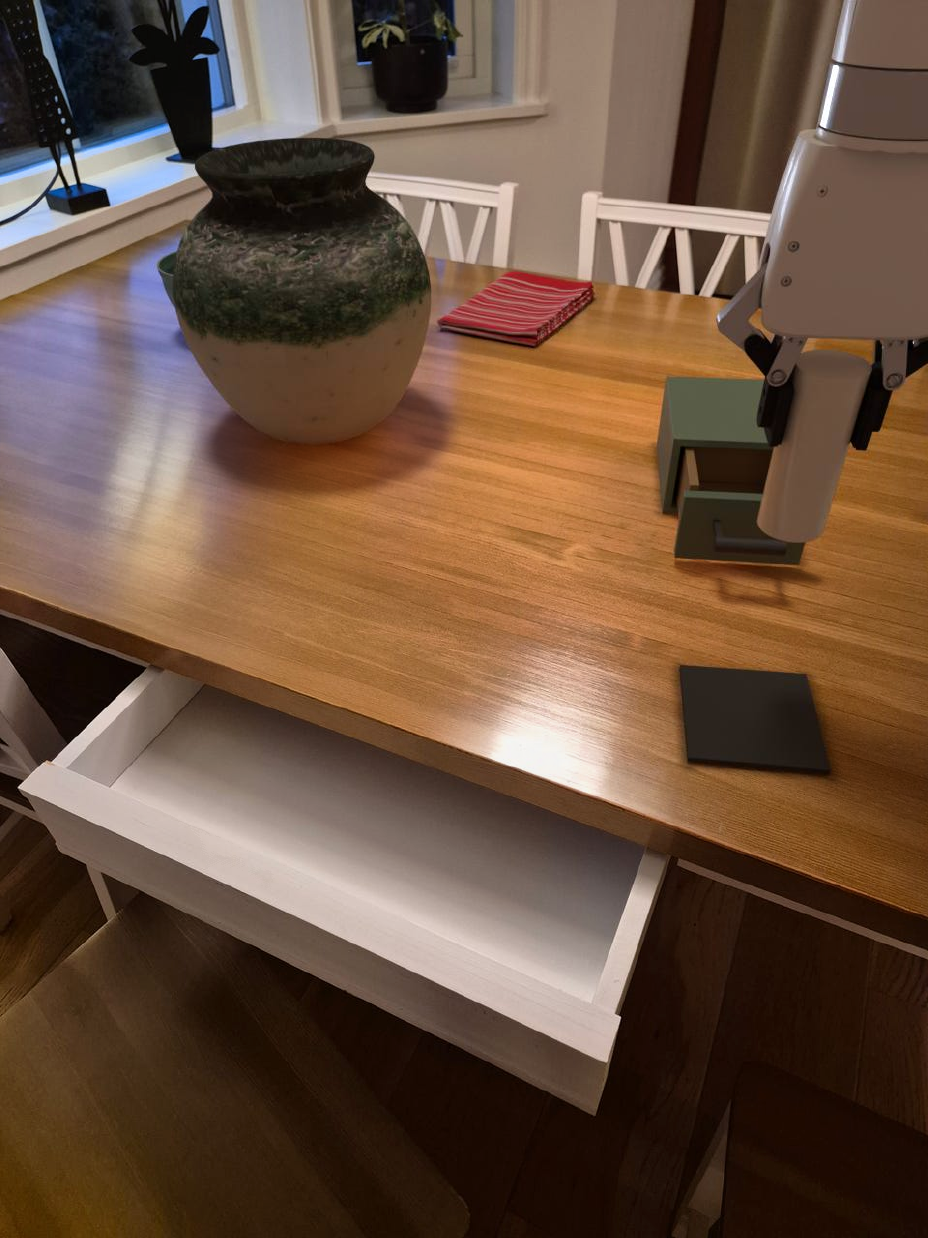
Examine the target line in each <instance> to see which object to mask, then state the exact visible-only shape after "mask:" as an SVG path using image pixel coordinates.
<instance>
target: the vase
mask: <svg viewBox="0 0 928 1238" xmlns="http://www.w3.org/2000/svg"><path fill="white" fill-rule="evenodd" d="M375 158H376V155H375V152H374V150H373V148H371V147H370V146H368V145H366V144H364V143H361V142H357V141H353V140H347V139H341V138H328V137H287V138H285V137H284V138H274V139H273V138H272V139H264V140H255V141H248V142H247V141H246V142H242V143H237V144H231V145H227V146H224V147H220V148H217V149H213V150H210V151H208V152H206V153H204V154H203V155H200V156H199V157H198V158H196V160H195V162H194V170H195V172H196V174H197V175H198V177H199V178H200V179H201V180H202V181H203V183H204V184H205V185H207V188H209V190H210V192H211V198H210V200H209V201H208V202H207V203H206V204H205V205H204V206H203V207H202V208H201V209H200V210H199V211H198V212H197V213H196V214H195V216H194V217H193V218H192V219H191V220H190V222H189V223H188V225H187V226H186V228H185V229H184V232H183V234H182V236H181V238H180V240H179V242H178V246H177V249H176V251H177V253H176V257H175V262H174V270H173V299H174V305H175V307H174V310H175V315H176V318H177V322H178V325H179V328H180V331H181V333H182V336H183V338H184V340H185V342H186V344H187V346H188V348H189V350H190V352H191V354H192V355H193V357H194V359H195V361H196V362H197V364H198V366H199V368H200V369H201V371H202V372H203V373H204V375H205V376H206V378H207V380H208V381H209V382H210V384H211V385H212V386H213V388H214V389H215V390H216V391H217V392H218V394H219V395H220V396H221V398H223V400H224V401H225V402H226V403H227V405H228V406H229V407H230V408H231V409H232V410H233V411H234V412H235V413H236V414H237V415H238V416H239V417H240V418H242V419H243V420H244V421H245V422H246V423H248V424H249V425H251V426H252V428H254V429H256V430H258V431H259V432H261V433H263V434H265V435H267V436H269V437H271V438H274V439H277V440H280V441H283V442H287V443H292V444H296V445H297V444H298V445H304V446H305V445H306V446H321V445H331V444H336V443H342V442H345V441H349V440H351V439H353V438H356V437H359V436H362V435H363V434H365V433H367V432H368V431H371V430H372V429H373V428H375V427H377V426H378V425H379V424H380V423H382V422H383V421H384V420H385V419H386V418H387V417H388V416H389V415H390V414H391V413H392V412H393V410H395V408H396V407H397V405H398V404H399V403H400V401H401V400H402V398H403V396H404V395H405V393H406V391H407V389H408V387H409V385H410V383H411V381H412V378H413V376H414V374H415V373H416V372H415V371H416V369H417V367H418V364H419V361H420V358H421V356H422V353H423V350H424V346H425V343H426V339H427V334H428V330H429V327H430V326H429V325H430V320H431V314H432V313H431V312H432V282H431V275H430V270H429V267H428V263H427V259H426V256H425V253H424V250H423V248H422V245H421V243H420V241H419V238H418V237H417V235H416V233H415V232H414V229H413V228H412V226H411V225H410V224H409V222H408V221H407V219H406V218H405V217H404V216H403V214H402V213H401V212H400V211H399V210H398V209H397V207H395V206H394V205H392V203H390V202H389V201H388V200H387V199H385V198H383V197H382V196H381V195H380V194H378V193H376V192H375V191H373V190H371V189H370V188H369V186H368V185H367V182H366V181H367V178H368V175H369V173H370V171H371V169H372V167H373V165H374V161H375V160H376V159H375Z"/></svg>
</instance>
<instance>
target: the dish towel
mask: <svg viewBox="0 0 928 1238" xmlns="http://www.w3.org/2000/svg"><path fill="white" fill-rule="evenodd" d="M594 287H595V286H594V285H593V282H592V281H591V280H590V281H573V280H566V279H563V278H557V277H551V276H547V275H546V276H545V275H539V274H535V273H528V272H524V271H517V270H512V271H507V272H505V273H503V274H502V275H501V276H500V277H499V278H497V279H496V280H494V281H493V282H492V283H490V284H489V285H487V286H486V287H484V288H483V289H482V290H481V291H479V292H478V293H476V294H475V295H473V296H472V297H470V298H469V299H467V300H466V301H465V302H464V303H462V304H460V305H459V306H458V307H456V308H454V309H452V310H451V311H449V312H448V313H446V314H443V316H442V317H440V318H439V319H438V320H436V322H437V324H438V326H439V328H440V329H443V330H447V331H453V332H457V333H461V334H467V335H472V336H476V337H477V336H478V337H483V338H487V339H494V340H498V341H503V342H509V343H513V344H521V345H526V346H529V347H536V346H537V345H539V344H540V343H542V342H543V341H544V340H545V339H546V338H547V337H549V336H550V334H551V333H553V332H555V331H556V330H557V329H558V328H559V327H560V326H561V325H563V324H564V323H565V322H567V321H568V320H570V319H571V317H573V316H574V315H576V314H577V312H579V311H580V310H581V309H583V308H584V307H585V306H586V305H587V304H589V303H590V302H591V301H592V300H594V298H595V295H596V293H595V292H594Z"/></svg>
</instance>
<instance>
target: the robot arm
mask: <svg viewBox="0 0 928 1238" xmlns="http://www.w3.org/2000/svg"><path fill="white" fill-rule="evenodd" d="M830 59H831V60H830V61H829V67H828V70H827V71H828V72H827V76H826V81H825V85H824V90H823V94H822V99H821V104H820V109H819V113H818V117H817V118H818V119H817V123H816V127H815V128H809V129H804V130H801V131H799V132H798V133H797V137H796V139H795V141H794V144H793V147H792V149H791V151H790V154H789V157H788V160H787V163H786V165H785V169H784V171H783V174H782V177H781V179H780V184H779V187H778V190H777V192H776V197H775V200H774V203H773V207H772V211H771V214H770V216H769V217H770V218H769V222H768V225H767V230H766V232H765V233H766V234H765V237H764V241H763V244H762V249H761V253H760V257H759V262H758V265H757V270H756V272H755V273H754V274H753V276H751V277H750V279H749V280H748V281H747V282H746V283H745V284H744V285H743V286H742V287H741V288H740V289H739V290H738V292H737V293H736V294H735V295H734V296H733V297H732V298H731V299H730V300H729V301H728V303H727V304H725V306H724V307H723V308H722V309H721V310H720V311H719V312H718V314H716V317H715V320H716V321H715V322H716V325H717V330H718V331H719V332H720V334H722V335H723V336H724V337H725V338H727V339H728V340H729V341H730V342H731V343H732V344H734V345H735V346H736V347H737V348H740V349H741V350H742V351H743V352H745V354H746V356H747V357H748V358H749V359H750V361H751V362H752V363H753V364H754V366H756V367H757V369H758V370H759V371H760V373H761V374H762V375H763V376H764V379H763V380H764V383H763V387H762V392H761V397H760V401H759V406H758V411H757V419H756V420H757V426H758V427H762V428H764V431H765V435H766V439H767V442H768V446H769V447H778V445H781V444H782V441H783V437H784V432H785V428H786V424H787V420H788V416H789V412H790V408H791V403H792V399H793V395H794V387H793V384H792V382H791V377H792V373H791V372H792V370H793V368H794V366H795V364H796V362H797V360H798V358H799V356H800V354H801V353H803V352H802V351H803V349H804V348H805V346H806V343H807V342H808V339H823V340H826V339H827V340H860V341H862V340H863V341H872V361H871V363H872V364H871V366H872V371H871V375H870V378H869V381H868V385H867V388H866V391H865V395H864V398H863V401H862V405H861V408H860V411H859V415H858V418H857V421H856V425H855V428H854V431H853V435H852V438H851V441H850V444H851V446H852V448H853V449H855V451H862V452H863V451H864V452H865V451H867V450H868V448H869V444H870V441H871V438H872V434H873V433H879V432H880V431H881V429H882V426H883V423H884V420H885V417H886V413H887V411H888V407H889V404H890V402H891V398H892V394H893V392H894V391H896V390H898V389H900V388H901V387H903V386H904V384H905V383H906V379H907V378H909V377H910V376H911V375H913V374H915V373H916V372H918V371H919V370H921V369H922V368H923V367H925V366H926V365H928V0H843V2H842V5H841V11H840V16H839V20H838V25H837V29H836V34H835V38H834V43H833V49H832V53H831V58H830ZM759 309H760V310H761V313H760V314H761V315H760V316H761V317H760V321H761V325H762V327H763V328H764V330H766V331H767V332H769V333H771V337H770V339H768V337H767V336H766V335H765V334H764V333H763V331H762V330H761V329H760V328H757V327H755V325H753V324H752V322H750V319H751V317H752V316H753V315H754V314H755V313H756V312H757V311H758V310H759Z"/></svg>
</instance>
